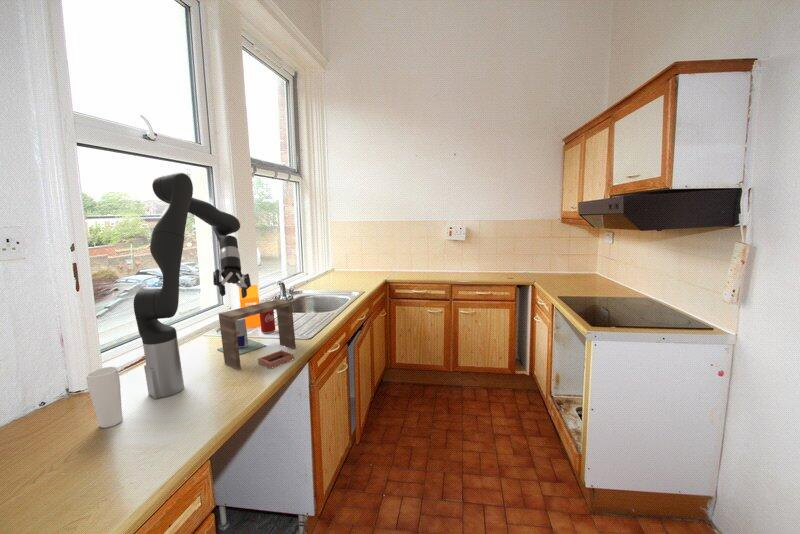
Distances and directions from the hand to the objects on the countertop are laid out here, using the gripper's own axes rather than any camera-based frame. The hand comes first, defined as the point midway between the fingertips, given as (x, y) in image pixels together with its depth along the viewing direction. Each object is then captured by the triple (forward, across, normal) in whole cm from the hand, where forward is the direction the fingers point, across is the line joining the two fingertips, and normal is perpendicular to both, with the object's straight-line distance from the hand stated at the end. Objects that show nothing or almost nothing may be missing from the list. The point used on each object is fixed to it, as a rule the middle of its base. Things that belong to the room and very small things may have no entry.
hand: (234, 296), depth 151 cm
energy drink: (+15, +10, +15) cm, 24 cm away
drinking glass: (+42, -39, +2) cm, 57 cm away
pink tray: (+29, +10, -7) cm, 31 cm away
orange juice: (-3, +29, +35) cm, 46 cm away
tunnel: (+24, +10, +2) cm, 26 cm away
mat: (+16, +10, +15) cm, 24 cm away
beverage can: (+7, +27, +20) cm, 35 cm away
